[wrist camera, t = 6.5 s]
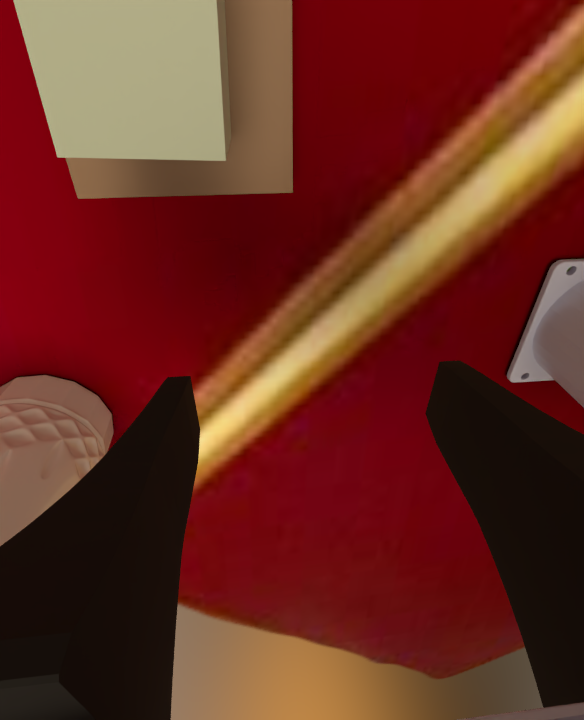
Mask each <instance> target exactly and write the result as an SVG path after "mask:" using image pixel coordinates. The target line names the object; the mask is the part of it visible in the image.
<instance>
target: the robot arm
mask: <svg viewBox="0 0 584 720" xmlns="http://www.w3.org/2000/svg"><path fill="white" fill-rule="evenodd" d="M570 267H571V269H570V270H569V271H568V272H567V270H568V268H570ZM524 373H525V374H524ZM507 378H508V379H509V380H510V381H511V382H530V381H546V380H555V381H556V382H557V383H558V384H559V385H560V386H562V387H563V388H564V389H565V390H566V391H567V392H568V393H569V394H570V395H571V396H572V397H573V398H574V399H575V400H576V401H577V402H578V403H579V404H580V405H582V406H583V407H584V259H565V260H558V261H556V262H555V263H553V264H552V265H551V267H550V269H549V271H548V274H547V276H546V279H545V281H544V283H543V286H542V288H541V291H540V293H539V296H538V298H537V301H536V303H535V306H534V308H533V311H532V313H531V316H530V318H529V321H528V323H527V326H526V328H525V331H524V333H523V336H522V338H521V341H520V343H519V346H518V348H517V350H516V353H515V355H514V358H513V360H512V363H511V365H510V368H509V370H508V373H507ZM426 416H427V419H428V422H429V425H430V428H431V430H432V433H433V436H434V438H435V441H436V443H437V445H438V447H439V449H440V451H441V453H442V455H443V457H444V459H445V460H446V462H447V464H448V466H449V468H450V470H451V472H452V474H453V475H454V477H455V479H456V481H457V483H458V485H459V486H460V488H461V490H462V492H463V494H464V496H465V497H466V499H467V501H468V503H469V505H470V507H471V509H472V510H473V513H474V515H475V517H476V519H477V521H478V523H479V525H480V527H481V530H482V532H483V534H484V537H485V539H486V542H487V544H488V546H489V549H490V551H491V554H492V556H493V559H494V561H495V564H496V566H497V569H498V572H499V574H500V577H501V579H502V582H503V585H504V587H505V590H506V592H507V595H508V598H509V601H510V604H511V607H512V609H513V612H514V615H515V618H516V621H517V624H518V627H519V630H520V632H521V635H522V638H523V642H524V645H525V648H526V651H527V654H528V658H529V661H530V664H531V667H532V670H533V673H534V677H535V680H536V683H537V687H538V690H539V693H540V697H541V701H542V704H543V707H544V708H539V709H532V710H524V711H517V712H509V713H503V714H495V715H488V716H480V717H473V718H466V719H459V720H584V435H583V434H581V433H580V432H578V431H576V430H574V429H572V428H570V427H568V426H566V425H565V424H563V423H561V422H559V421H558V420H556V419H554V418H552V417H551V416H549V415H547V414H545V413H544V412H542V411H540V410H539V409H537V408H535V407H534V406H532V405H530V404H529V403H527V402H525V401H524V400H522V399H521V398H519V397H517V396H516V395H514V394H513V393H511V392H510V391H508V390H506V389H505V388H503V387H502V386H500V385H499V384H497V383H496V382H494V381H492V380H491V379H489V378H488V377H486V376H485V375H483V374H481V373H480V372H478V371H477V370H475V369H474V368H472V367H470V366H469V365H467V364H465V363H463V362H461V361H444V362H439V366H438V370H437V373H436V377H435V381H434V384H433V388H432V392H431V396H430V399H429V403H428V407H427V410H426ZM199 438H200V426H199V421H198V416H197V410H196V405H195V399H194V394H193V389H192V383H191V378H190V376H183V377H168V378H167V379H166V380H165V381H164V382H163V384H162V385H161V386H160V388H159V389H158V391H157V392H156V393H155V395H154V396H153V397H152V399H151V400H150V401H149V403H148V404H147V405H146V407H145V408H144V409H143V411H142V412H141V413H140V414H139V416H138V417H137V418H136V419H135V421H134V422H133V423H132V424H131V426H130V427H129V428H128V429H127V431H126V432H125V433H124V434H123V435H122V436H121V438H120V439H119V440H118V441H117V442H116V443H115V444H114V445H113V446H112V448H111V449H110V450H109V451H108V452H107V453H106V454H105V455H104V457H103V458H102V459H101V460H100V461H99V462H98V463H97V464H96V465H95V466H94V467H93V468H92V469H91V470H90V471H89V472H88V473H87V474H86V475H85V476H84V477H83V478H82V479H81V480H80V481H79V482H78V483H77V484H76V485H74V486H73V487H72V488H71V489H70V490H69V491H68V492H67V493H66V494H65V495H63V496H62V497H61V498H60V499H59V500H58V501H56V502H55V503H54V504H53V505H52V506H50V507H49V508H48V509H47V510H46V511H44V512H43V513H42V514H41V515H40V516H38V517H37V518H36V519H35V520H34V521H33V522H31V523H30V524H29V525H28V526H26V527H25V528H24V529H22V530H21V531H20V532H18V533H17V534H16V535H14V536H13V537H12V538H11V539H9V540H8V541H7V542H5V543H4V544H3V545H1V546H0V720H170V718H171V697H172V677H173V661H174V645H175V629H176V615H177V603H178V590H179V579H180V567H181V556H182V548H183V541H184V534H185V529H186V524H187V518H188V513H189V508H190V502H191V497H192V492H193V486H194V481H195V475H196V470H197V464H198V454H199Z"/></svg>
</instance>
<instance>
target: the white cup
mask: <svg viewBox="0 0 584 720" xmlns="http://www.w3.org/2000/svg"><path fill="white" fill-rule="evenodd" d="M113 433H114V430H113V421H112V414H111V412H110V411H109V410H108V408H107V407H106V406H105V404H104V403H103V402H102V400H101V399H100V398H99V396H97V395H96V394H94V393H93V392H91V391H89V390H88V389H86V388H84V387H82V386H81V385H79V384H77V383H76V382H74V381H69V380H65V379H61V378H57V377H52V376H48V375H38V376H27V377H17V378H15V379H13V380H11V381H10V382H8V383H6V384H5V385H3V386H1V387H0V546H1V545H3V544H4V543H5V542H7V541H8V540H9V539H11V538H12V537H13V536H14V535H16V534H17V533H18V532H20V531H21V530H22V529H24V528H25V527H26V526H28V525H29V524H30V523H31V522H33V521H34V520H35V519H36V518H37V517H38V516H40V515H41V514H42V513H43V512H44V511H46V510H47V509H48V508H49V507H50V506H52V505H53V504H54V503H55V502H56V501H58V500H59V499H60V498H61V497H62V496H63V495H65V494H66V493H67V492H68V491H69V490H70V489H71V488H72V487H73V486H74V485H76V484H77V483H78V482H79V481H80V480H81V479H82V478H83V477H84V476H85V475H86V474H87V473H88V472H89V471H90V470H91V469H92V468H93V467H94V466H95V465H96V464H97V463H98V462H99V461H100V460H101V459H102V458H103V457H104V455H105V454H106V453H107V452H108V449H109V445H110V442H111V439H112V436H113Z"/></svg>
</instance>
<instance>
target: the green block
mask: <svg viewBox="0 0 584 720" xmlns="http://www.w3.org/2000/svg"><path fill="white" fill-rule="evenodd" d="M14 4H15V8H16V11H17V15H18V18H19V22H20V25H21V29H22V32H23V36H24V40H25V43H26V47H27V50H28V54H29V57H30V61H31V65H32V68H33V72H34V75H35V79H36V82H37V86H38V90H39V93H40V97H41V100H42V104H43V107H44V111H45V114H46V118H47V122H48V125H49V129H50V132H51V136H52V139H53V143H54V147H55V150H56V154H57V157H64V158H111V159H157V160H204V161H226V158H227V154H228V150H229V146H230V141H231V122H230V101H229V81H228V60H227V40H226V20H225V0H14Z"/></svg>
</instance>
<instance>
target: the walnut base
mask: <svg viewBox="0 0 584 720" xmlns="http://www.w3.org/2000/svg"><path fill="white" fill-rule="evenodd" d="M225 20H226V40H227V60H228V81H229V101H230V122H231V141H230V146H229V150H228V154H227V158H226V161H204V160H157V159H111V158H66V161H67V164H68V167H69V171H70V174H71V177H72V181H73V184H74V187H75V190H76V194H77V197H78V199H83V198H119V197H155V196H190V195H226V194H261V193H293V142H292V0H225Z"/></svg>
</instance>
